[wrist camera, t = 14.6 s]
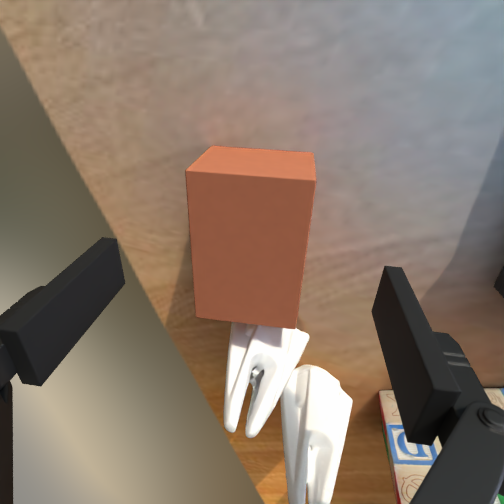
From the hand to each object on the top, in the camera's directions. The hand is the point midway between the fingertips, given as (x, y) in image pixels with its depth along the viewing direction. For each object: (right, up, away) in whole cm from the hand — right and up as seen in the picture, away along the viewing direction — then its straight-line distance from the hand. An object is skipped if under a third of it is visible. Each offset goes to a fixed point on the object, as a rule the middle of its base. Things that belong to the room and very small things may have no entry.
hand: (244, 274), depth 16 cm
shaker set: (+4, -7, +11) cm, 13 cm away
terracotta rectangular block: (+1, +3, +5) cm, 6 cm away
